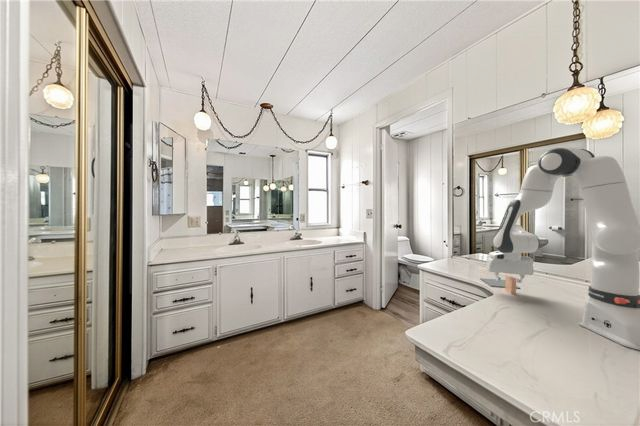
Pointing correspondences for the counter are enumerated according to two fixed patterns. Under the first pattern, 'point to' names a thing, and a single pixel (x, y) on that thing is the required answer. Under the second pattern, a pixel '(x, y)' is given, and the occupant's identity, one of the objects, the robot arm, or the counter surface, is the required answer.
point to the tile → (510, 284)
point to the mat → (495, 283)
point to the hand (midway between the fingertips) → (508, 281)
